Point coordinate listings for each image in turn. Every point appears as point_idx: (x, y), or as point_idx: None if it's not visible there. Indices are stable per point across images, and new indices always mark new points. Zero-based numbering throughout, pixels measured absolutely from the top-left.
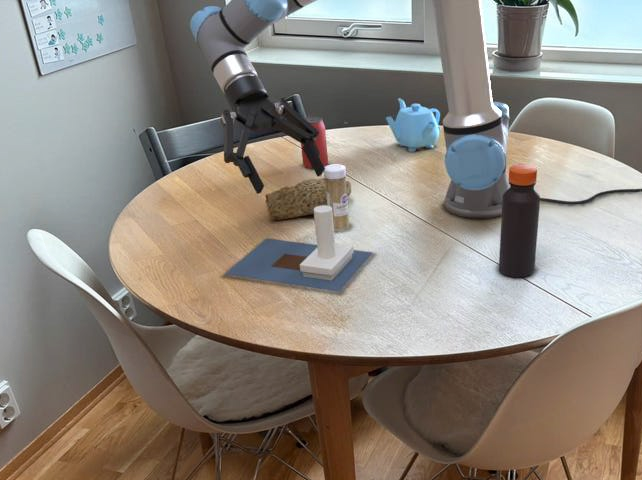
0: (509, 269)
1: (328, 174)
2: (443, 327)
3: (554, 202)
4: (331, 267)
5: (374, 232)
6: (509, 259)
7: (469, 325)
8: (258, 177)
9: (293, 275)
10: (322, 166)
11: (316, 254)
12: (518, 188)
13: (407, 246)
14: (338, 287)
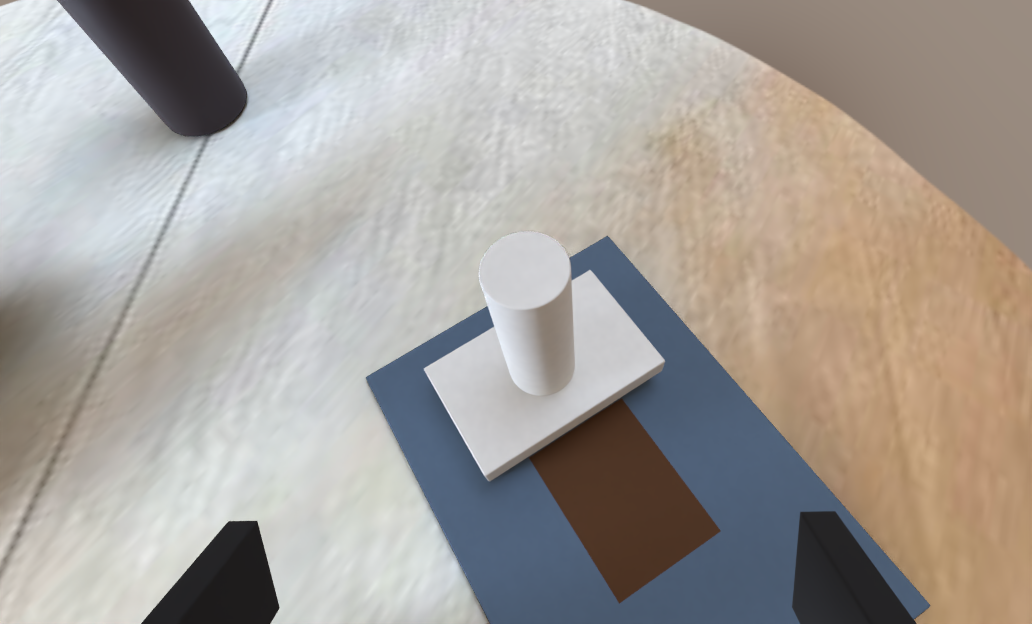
0: (237, 77)
1: None
2: (508, 29)
3: None
4: (583, 278)
5: None
6: (223, 55)
7: (464, 14)
8: (854, 576)
9: (676, 405)
10: (224, 539)
11: (570, 392)
12: None
13: (250, 360)
14: (595, 255)
